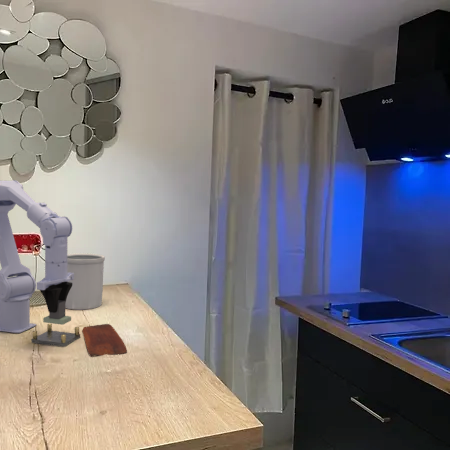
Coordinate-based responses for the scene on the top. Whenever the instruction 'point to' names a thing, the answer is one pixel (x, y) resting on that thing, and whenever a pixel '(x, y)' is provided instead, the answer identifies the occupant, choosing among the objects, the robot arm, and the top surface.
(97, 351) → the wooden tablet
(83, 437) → the top surface
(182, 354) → the top surface
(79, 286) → the utensil holder
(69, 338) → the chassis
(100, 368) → the top surface
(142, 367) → the top surface
